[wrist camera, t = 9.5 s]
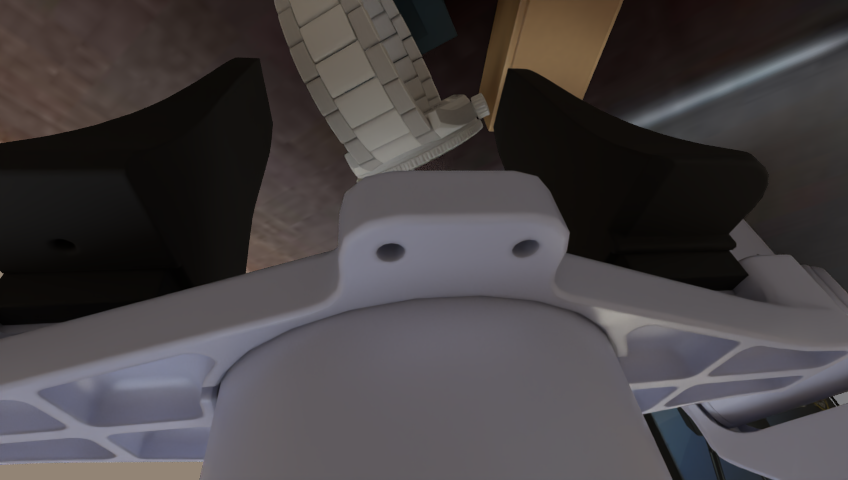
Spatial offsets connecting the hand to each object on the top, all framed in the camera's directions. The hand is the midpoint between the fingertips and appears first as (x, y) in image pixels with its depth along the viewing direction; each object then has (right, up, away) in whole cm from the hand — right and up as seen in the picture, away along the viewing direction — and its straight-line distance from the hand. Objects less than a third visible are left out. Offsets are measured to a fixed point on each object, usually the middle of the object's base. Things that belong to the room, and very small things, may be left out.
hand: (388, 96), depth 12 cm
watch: (-1, +7, +6) cm, 10 cm away
